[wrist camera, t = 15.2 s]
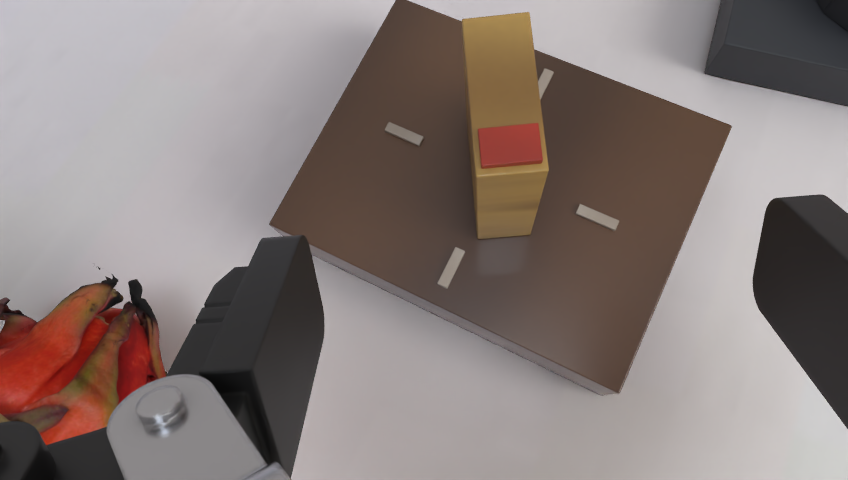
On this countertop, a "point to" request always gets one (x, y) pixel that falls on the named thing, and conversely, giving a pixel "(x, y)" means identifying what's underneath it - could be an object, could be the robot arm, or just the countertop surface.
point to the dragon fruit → (77, 360)
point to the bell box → (784, 46)
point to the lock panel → (454, 203)
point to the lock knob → (503, 124)
